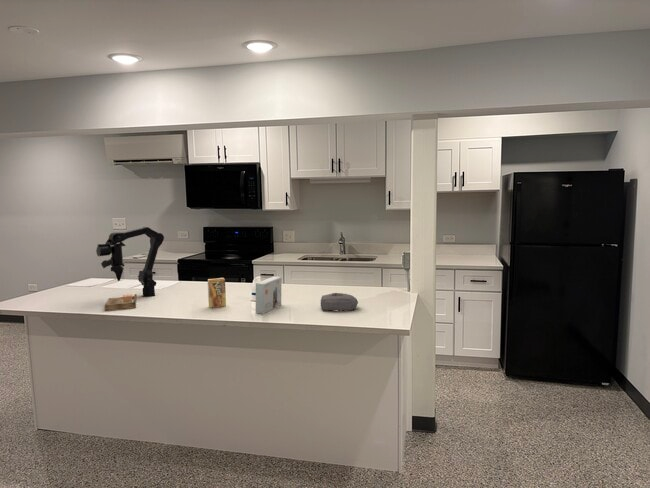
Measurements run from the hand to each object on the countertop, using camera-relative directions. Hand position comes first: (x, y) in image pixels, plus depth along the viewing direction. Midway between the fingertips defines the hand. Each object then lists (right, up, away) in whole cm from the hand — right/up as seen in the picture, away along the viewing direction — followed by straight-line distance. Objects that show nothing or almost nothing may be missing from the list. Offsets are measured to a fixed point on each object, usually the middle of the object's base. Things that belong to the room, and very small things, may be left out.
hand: (118, 280), depth 263 cm
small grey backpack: (+128, -13, -23) cm, 131 cm away
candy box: (+61, -13, -15) cm, 64 cm away
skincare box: (+91, -13, -22) cm, 94 cm away
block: (+9, -11, -8) cm, 16 cm away
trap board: (+5, -13, -8) cm, 16 cm away
